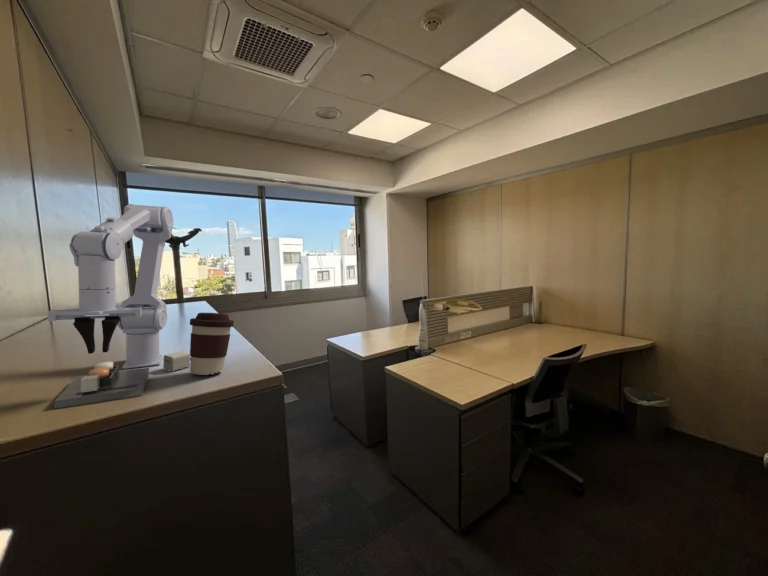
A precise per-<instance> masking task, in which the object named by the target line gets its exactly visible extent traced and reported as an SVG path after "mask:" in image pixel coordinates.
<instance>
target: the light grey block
mask: <svg viewBox="0 0 768 576" xmlns="http://www.w3.org/2000/svg"><path fill="white" fill-rule="evenodd" d="M98 389H99V375H94V376H85V377H83V378H82V379H81V393H83V392H90V391H97V390H98Z"/></svg>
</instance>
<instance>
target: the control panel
mask: <svg viewBox="0 0 768 576" xmlns="http://www.w3.org/2000/svg"><path fill="white" fill-rule="evenodd" d="M93 369H95V367H93V368H92V369H91V370H93ZM149 375H150V368H149V367H148V368H147V367H146V368H145V367H144V368H136V369H128V370H120V365H113V370H111V371H109V376H108V377H106V378H102V379H99V389H98V390H97V391H90V392H83V393H81V379H82V378H83V377H85V376H89V373H88V374H83V375H77V376H76V377H75V378H74V380H72V381H71V383H70V384H69V385H68V386H67V387H66V388H65V389H64V390H63V391H62V392H61V394H59V396H58V397H57V398H55V400H54V410H56V409H63V408H69V407H75V406H81V405H88V404H94V403H95V404H96V403H102V402H109V401H115V400H122V399H127V398H128V399H129V398H133V397H141V396H143V395H144V394H143V393H144V391H145V387H146V385H147V381H148V379H149Z"/></svg>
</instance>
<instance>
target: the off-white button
mask: <svg viewBox="0 0 768 576" xmlns="http://www.w3.org/2000/svg"><path fill="white" fill-rule="evenodd" d="M113 366H114V362H113V361H102V362H98V363H95V364H94V368H95V369H97V368H109V371H111V370H113Z"/></svg>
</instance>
